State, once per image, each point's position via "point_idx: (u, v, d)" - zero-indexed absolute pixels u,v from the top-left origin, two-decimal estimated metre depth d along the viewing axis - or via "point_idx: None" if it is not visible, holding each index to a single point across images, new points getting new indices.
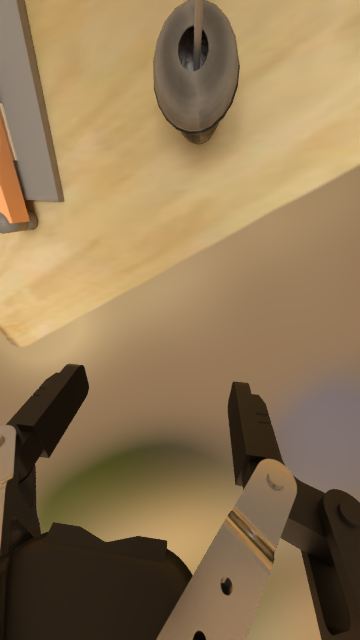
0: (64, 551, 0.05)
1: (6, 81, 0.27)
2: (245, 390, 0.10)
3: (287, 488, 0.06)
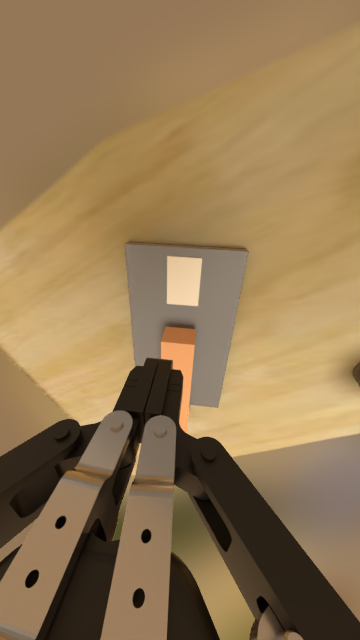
0: None
1: (204, 343, 0.30)
2: (166, 365, 0.11)
3: (166, 435, 0.08)
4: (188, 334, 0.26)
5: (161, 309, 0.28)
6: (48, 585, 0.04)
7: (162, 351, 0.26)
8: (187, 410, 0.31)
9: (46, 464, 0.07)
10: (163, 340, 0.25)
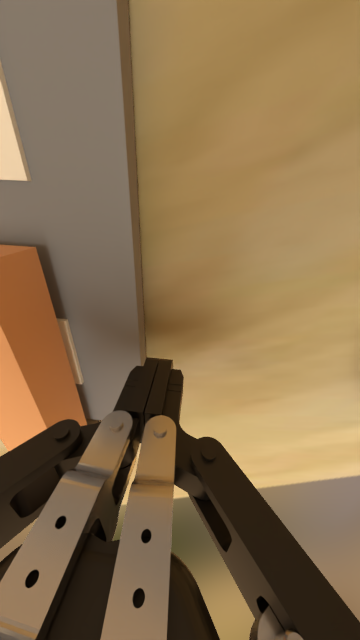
0: None
1: (80, 292, 0.13)
2: (166, 365, 0.11)
3: (166, 435, 0.08)
4: None
5: None
6: (48, 586, 0.04)
7: None
8: None
9: (46, 464, 0.07)
10: None
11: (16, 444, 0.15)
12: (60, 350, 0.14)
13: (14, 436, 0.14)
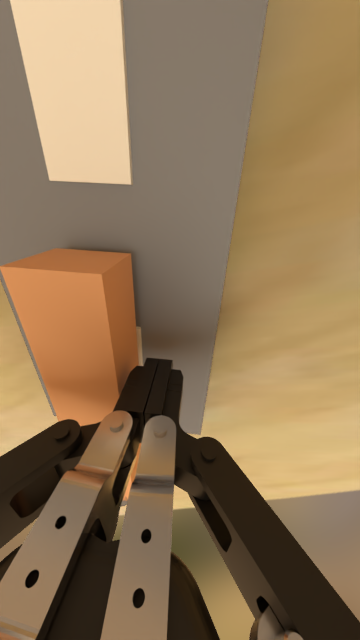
0: None
1: (161, 299, 0.13)
2: (166, 365, 0.11)
3: (166, 435, 0.08)
4: (100, 259, 0.09)
5: (44, 204, 0.11)
6: (49, 585, 0.04)
7: (16, 301, 0.09)
8: None
9: (46, 464, 0.07)
10: (11, 264, 0.08)
11: None
12: (136, 359, 0.14)
13: None
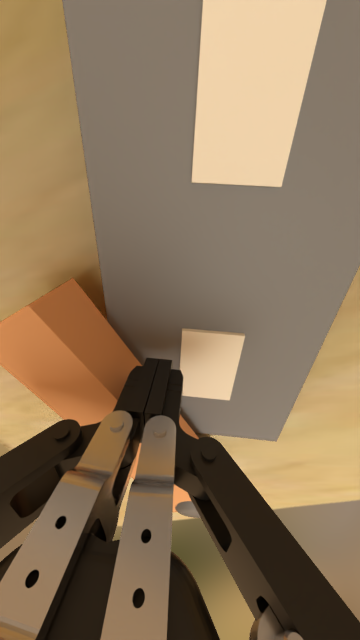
0: None
1: (274, 305, 0.12)
2: (166, 365, 0.11)
3: (166, 435, 0.08)
4: None
5: (175, 207, 0.10)
6: (49, 585, 0.04)
7: None
8: None
9: (46, 464, 0.07)
10: None
11: None
12: None
13: (136, 466, 0.14)
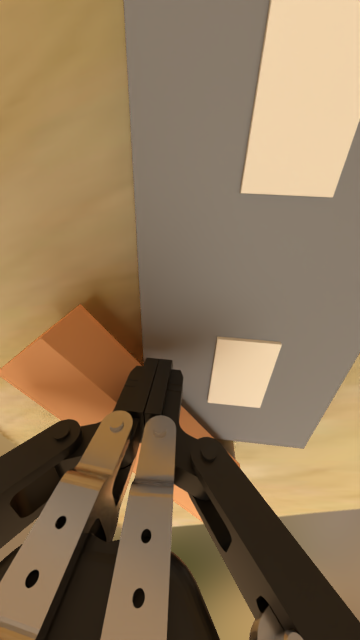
0: None
1: (314, 314, 0.12)
2: (166, 365, 0.11)
3: (166, 435, 0.08)
4: (55, 324, 0.11)
5: (220, 217, 0.10)
6: (48, 586, 0.04)
7: (21, 389, 0.11)
8: None
9: (46, 464, 0.07)
10: None
11: None
12: None
13: None
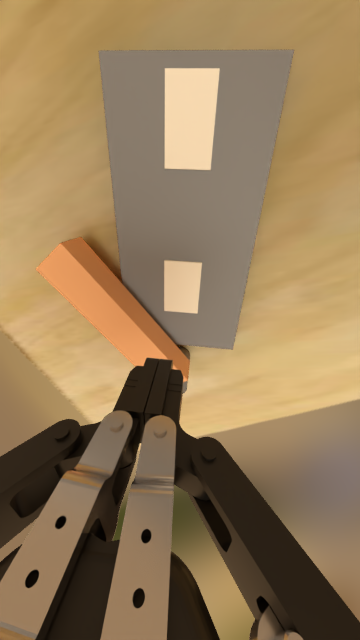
0: None
1: (217, 242, 0.21)
2: (166, 365, 0.11)
3: (166, 435, 0.08)
4: None
5: (156, 182, 0.19)
6: (48, 585, 0.04)
7: (48, 280, 0.20)
8: (147, 338, 0.22)
9: (46, 464, 0.07)
10: None
11: (135, 357, 0.24)
12: (123, 288, 0.23)
13: (130, 349, 0.23)
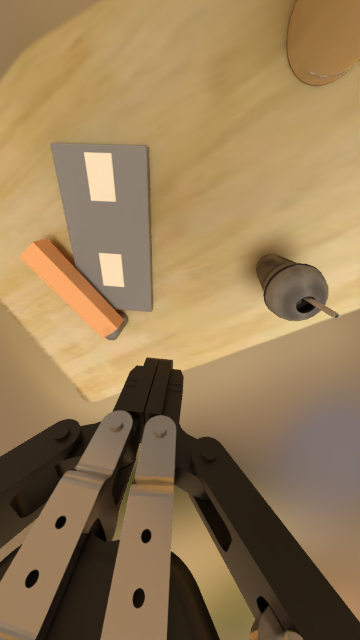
0: None
1: (128, 241, 0.36)
2: (166, 365, 0.11)
3: (166, 435, 0.08)
4: None
5: (88, 207, 0.34)
6: (48, 585, 0.04)
7: (27, 263, 0.35)
8: (88, 300, 0.37)
9: (46, 464, 0.07)
10: None
11: (83, 313, 0.39)
12: (75, 270, 0.38)
13: (79, 308, 0.38)
